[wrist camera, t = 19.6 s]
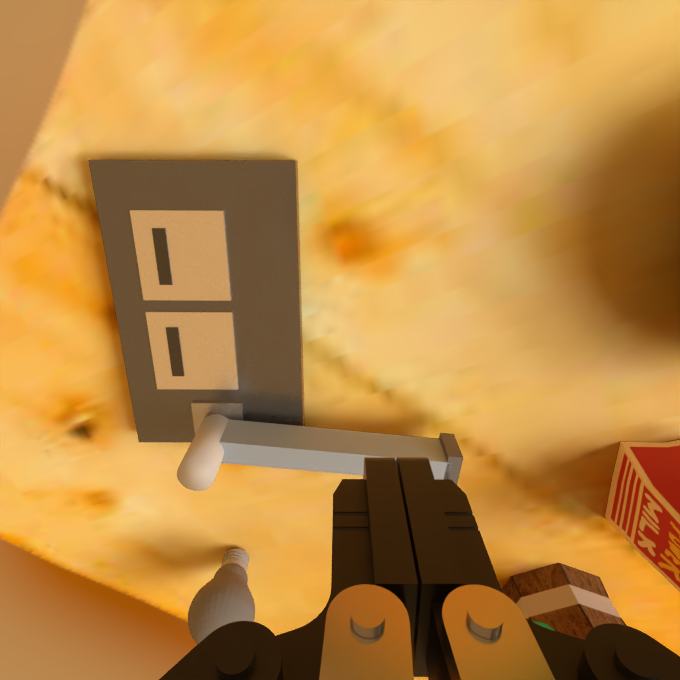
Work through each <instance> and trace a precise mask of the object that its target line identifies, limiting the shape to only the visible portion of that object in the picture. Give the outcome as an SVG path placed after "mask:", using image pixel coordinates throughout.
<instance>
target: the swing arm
mask: <svg viewBox="0 0 680 680" xmlns="http://www.w3.org/2000/svg"><path fill="white" fill-rule="evenodd" d="M364 457H394V458H395V460H396V458H397V457H427V458H428V459H429V462H430V465H431V469H432V472H433V476H434V479H451V480H452V481H453V482H454V483H455V484H456V485H457V482H458V477H459V473H460V469H461V465H462V461H463V456H462V454H461V451H460V449H459V446H458V444H457V441H456V439H455V436H454V434H447V433H440V436H439V439H438V438H427V437H416V436H405V435H394V434H383V433H372V432H361V431H350V430H339V429H329V428H318V427H307V426H296V425H285V424H274V423H263V422H252V421H241V420H230V419H228V418H226V417H225V416H222V415H219V414H213V415H209V416H207V417H206V418H205V419H204V420H203V421H202V423H201V425H200V427H199V429H198V431H197V433H196V435H195V437H194V439H193V441H192V443H191V445H190V447H189V448H188V450H187V452H186V454H185V456H184V458H183V460H182V462H181V464H180V466H179V468H178V470H177V477H178V480H179V481H180V483H181V484H182V485H183V486H184V487H186V488H188V489H190V490H194V491H201V490H205V489H207V488H209V487H210V486H211V485H212V484H213V482H214V480H215V477H216V474H217V472H218V469H219V467H220V464H221V463H227V464H239V465H250V466H261V467H273V468H284V469H295V470H307V471H318V472H330V473H341V474H352V475H364Z"/></svg>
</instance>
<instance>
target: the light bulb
mask: <svg viewBox="0 0 680 680" xmlns="http://www.w3.org/2000/svg"><path fill="white" fill-rule="evenodd" d="M248 562H249V556H248V554H247V553H246V552H245V551H244V550H242V549H230V550H228V551H227V552H226V553H225V555H224V558H223V562H222V565H221V568H219V569H218V571H217V572H216V574H215V576H214V578H213V579H212V580H211V581H210V582H208V583H207V584H206V585H205V586H203V587H202V588H201V589H200V590H199V591H198V593H197V594H196V596H195V597H194V599H193V601H192V603H191V605H190V609H189V612H188V626H189V630H190V633H191V636H192V638H193V639H194V641H195V642H196V643H197V645H198V644H199V643H200V642H201V641H202V640H203V639H204V638H206V637H207V636H208V635H209V634H210V633H212V632H213V631H214V630H216V629H218V628H219V627H221V626H223V625H226V624H228V623H232V622H236V621H252V622H254V618H255V605H254V599H253V597H252V595H251V592H250V590H249V588H248V585H247V581H248V578H247V574H246V571H247V566H248Z"/></svg>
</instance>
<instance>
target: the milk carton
mask: <svg viewBox="0 0 680 680" xmlns="http://www.w3.org/2000/svg"><path fill="white" fill-rule="evenodd" d="M605 519H606V520H607V521H608V522H609V523H610V524H611V525H612V526H613V527H614V528H615V529H616V530H617V531H618V532H619V533H620V534H621V535H622V536H623V537H624V538H625V539H626V540H627V541H628V542H629V543H630V544H631V545H632V546H633V547H634V548H635V549H636V550H637V551H638V552H639V553H640V554H641V555H642V556H643V557H644V558H645V559H646V560H647V561H648V562H649V563H650V564H651V565H652V566H653V567H654V568H656V569H657V570H658V571H659V572H660V573H661V574H662V575H663V576H664V577H665V578H666V579H667V580H668V581H669V582H670V583H671V584H672V585H673V586H674V587H675V588H676V589H677V590H679V591H680V440H675V441H670V442H620V446H619V451H618V455H617V459H616V464H615V468H614V472H613V477H612V481H611V487H610V492H609V498H608V503H607V509H606V514H605Z"/></svg>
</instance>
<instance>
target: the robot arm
mask: <svg viewBox="0 0 680 680" xmlns="http://www.w3.org/2000/svg"><path fill="white" fill-rule="evenodd" d="M413 675H414V677H428V679H429V680H680V657H679V656H678V655H677V654H675V653H674V652H672V651H671V650H669V649H668V648H666V647H665V646H663V645H662V644H660V643H659V642H658V641H656V640H655V639H653V638H651V637H650V636H648V635H647V634H645V633H643V632H641V631H639V630H637V629H634V628H632V627H629V626H625V625H621V624H613V623H609V624H602V625H598V626H596V627H594V628H593V629H592V630H590V631H589V633H588V634H587V636H586V639H585V640H584V639H580V638H577V637H573V636H570V635H567V634H563V633H560V632H557V631H553V630H550V629H547V628H545V627H542V626H540V625H538V624H536V623H533V622H532V621H530V620H529V619H527V618H525V616H524V615H523V613H522V611H521V610H520V608H519V607H518V606H517V605H516V604H515V603H514V602H513V601H512V600H511V599H510V598H509V597H507V596H506V595H505V594H503V592H502V590H501V588H500V585H499V583H498V580H497V577H496V575H495V572H494V569H493V566H492V564H491V561H490V558H489V556H488V553H487V550H486V548H485V545H484V542H483V539H482V537H481V534H480V531H478V526H477V523H476V521H475V518H474V516H473V515H472V510H471V507H470V504H469V502H468V499H467V496H466V494H465V493H464V492H463V491H462V490H461V489H460V488H459V487H458V486H457V485H456V484H455V483H454V482H453V481H452V480H451V479H434V476H433V472H432V469H431V465H430V462H429V459H428V458H427V457H397V458H396V460H395V458H394V457H364V475H363V479H342V481H341V483H340V484H339V486H338V488H337V489H336V491H335V492H334V494H333V536H332V586H331V595H330V598H329V601H328V603H327V605H326V607H325V608H324V610H323V611H322V612H321V613H320V614H319V615H318V617H317V618H315V619H314V620H313V621H311V622H310V623H308V624H307V625H305V626H303V627H300V628H298V629H295V630H292V631H289V632H286V633H283V634H280V635H277V636H275V635H274V634H273V633H272V632H271V631H270V630H269V629H268V628H267V627H265V626H264V625H261V624H259V623H256V622H252V621H236V622H232V623H228V624H226V625H223V626H221V627H219V628H218V629H216V630H214V631H213V632H212V633H210V634H209V635H208V636H207V637H206V638H204V639H203V640H202V641H201V642H200V643H199V644H198V645H197V646H196V647H195V648H193V649H192V650H191V651H190V652H189V653H188V654H187V655H186V656H185V657H184V658H183V659H181V660H180V661H179V662H178V663H177V664H176V665H175V666H174V667H173V668H171V669H170V670H169V671H168V672H167V673H166V674H165V675H164V676H163V677H162V678H161V679H159V680H414V679H413Z"/></svg>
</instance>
